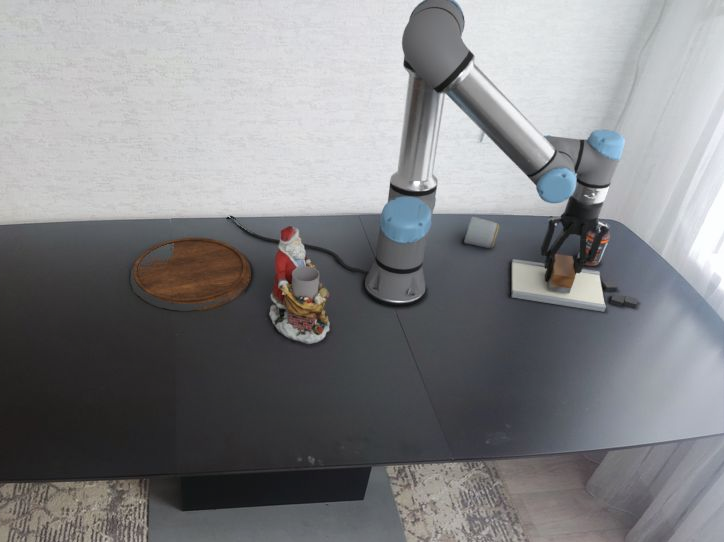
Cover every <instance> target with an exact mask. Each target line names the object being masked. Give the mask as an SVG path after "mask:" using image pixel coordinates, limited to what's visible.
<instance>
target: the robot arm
mask: <svg viewBox="0 0 724 542" xmlns="http://www.w3.org/2000/svg"><path fill="white" fill-rule="evenodd" d="M465 25H466V20H465V15H464V11H463V9H462V8H461V5H460V4H459V3H458V2H457V1H456V0H422V1H420V2H419V3H418V4H417V5H416V6H415V7H414V8H413V10H412V12H411V13H410V16H409V19H408V22H407V23H406V25H405V27H404V30H403V33H402V38H401V47H402V48H401V49H402V52H403V63H402V64H403V65H402V67H403V68H404V70H405V71H406V72H407V74H408V80H407V87H406V88H407V89H406V96H405V97H406V98H405V105H404V114H403V120H402V121H403V122H402V131H401V139H400V146H399V147H400V148H399V155H398V164H397V171H395V172H394V173H392V175H391V176H390V179H389V186H388V187H389V189H388V195H387V202H386V203H385V204H384V206H383V208H382V210H381V213H380V216H379V231H378V238H377V245H376V252H375V259H374V262H373V264H372V266H371V268H370V269H369V271H367V270H364V269H361V268H357V267H354V266H353V267H352V266H350V265H347V264H346V263H344V261H343V260H342V259H341V258H340V257H339V255H338V254H337V253H335V252H333V251H332V250H329V249H327V248H324V247H321V246H316V245H312V244H308V243H302V244H303V245H304V248H307V249H312V250H316V251H320V252H324V253H327V254H328V255H331V257H333V258H335V259H336V261H337V262H338V263H339V264H340V266H342V267H343V268H344V269H346V270H348V271H350V272H351V271H352V272H356V273H360V274H362V275H363V274H364V275H366V277H365V281H364V291H365V293H366V295H368V296H369V298H371V299H372V300H374V301H375V302H377V303H379V304H383V305H386V306H389V307H390V306H391V307H408V306H412V305H415V304H417V303H419V302H420V301H421V300H422V299H423V298H424V296H425V293H426V279H425V274H424V269H423V265H424V259H425V254H426V248H427V243H428V238H429V232H430V229H431V226H432V219H433V218H432V217H433V212H434V210H435V206H436V203H437V198H436V197H437V196H436V195H437V189H438V178H437V176H435V174H434V168H435V161H436V156H437V149H438V144H439V143H438V142H439V138H440V137H439V136H440V130H441V124H442V123H441V122H442V116H443V110H444V103H445V98H446V96H447V97H448V98H449V99H450V100H451V101H452V102H453V103H454V104H455V105H456V106H457V107H458V108H459V109H460V110H461V111H462V112H463V113H464V114H465V115H466V116H467V117H468V118H469V119H470V120H471V121H472V122H473V123H474V124H475V125H476V126H477V127H478V128H479V130H481V131H482V132H483V133H484V134H485V136H487V137H488V138H489V139H490V140H491V141H492V142H493V144H495V145H496V147H498V148H499V150H500V151H502V153H504V154H505V155H506V156H507V158H509V160H511V161H512V163H514V164H515V166H517V168H518V169H520V171H521V172H522V173H523V174H524V175H526V177H527V178H528V179H529V180H530V181H531V182H532V183H533V184H534V185H535V189H536V192H537V194H538V197H539V198H540V199H541V200H542V201H544V202H546V203H549V204H560V203H563V202H566V200H567V202H566V206H565V209H564V211H563V213H561V215H560V216H556V217H554V216H553V215H550V216H549V217H548V218H547V219H548V226H547V229H546V233H545V235H544V238H543V241H542V244H541V248H540V255H541V256H542V257H545V260H544V267H545V269H547V270H546V273H545V281H546V282H548V280H549V278H550V275H551V272H552V269H553V266H554V263H555V254H558V251H559V250H560V248H561V247H562V246H563V244H564V242H565V241H566V240H567V239H568V238H569V237H570V236H572V235H576V236H579V249H580V253H579V258H577V257H574V260H573V263H574V271H575V275H576V273H581V271H582V269H584V266H586V265H585V264H586V262H593V261H594V259H595V257H596V254H597V251H598V248H599V246H600V243H601V240H602V237H603V236H604V235H605V233H606V232H607V231H608V227H607V224H608V222H605V223H600V222H598V221H599V216H600V215H601V211H602V209H603V206H604V202H605V200H606V198H607V195H608V192H609V189H610V186H611V183H612V181H613V178H614V176H615V173H616V170H617V169H618V166H619V163H620V161H621V159H622V155H623V151H624V147H625V144H626V139H625V137H624V136H623V134H621V133H620V132H617V131H615V130H611V129H596V130H593V131H591V132H590V134H589V136H588V137H587V139H585V138H583V139H579V138H570V137H563V136H562V137H561V136H553V135H550V134H549V135H543V134H542V133H541V132H540V131H539V130H538V129H537V128H536V127H535V126H534V124H533V123H532V122H531V121H530V120H529V119H528V118H527V117H526V116H525V115H524V114H523V113H522V112H521V110H519V108H517V107H516V106H515V105H514V103H513V102H512V101H510V100H509V98H508V97H507V96H506V95H505V94H504V93H503V92H502V91H501V90H500V89H499V87H497V86H496V85H495V84H494V83H493V81H492V80H490V78H489V77H488V76H487V75H486V74H485V73H484V72H483V71H482V70H481V69H480V68H479V66H477V65H476V63H475V57H476V55H475V54H474V53H473V52H472V51H471V50H470V49H469V48H468V47H467V45H466V43H465V41H463V38H462V35H463V33H464V30H465ZM229 216H230V217H231V218H233V219H235V220H237V219H236V217H235V216H233V215H229ZM225 218H226V219H227V220H231V218H229V217H228V216H226V217H225ZM559 224H561V225H562V229H561V231H560V233H559V234H558V235H557V237H556V238H555V240H554V242H553V243H552V244H551V242H552V239H553V236H554V233H555V229H556V228H558V225H559ZM235 225H236V226H237V227H238V228H239V229H240V230H241V231H243V232H245V233H246V234H248V235H250V236H251V237H253V238H257V239H259V240H263V241H266V242H270V243H277V244H280V243H279V242H280V239H275V238H271V237H266V236H262V235H259V234H257V233H255V232H252V231H251V230H249V231H250V232H252V233H253V234H252V233H250V232H248V231H247V230H248V229H247V230H245V229H244V228H245V227H244V228H242V227H241V226H242V225H241V226H239V225H237V224H236V223H235ZM595 227H596V234H595V237H594V239H593V242H592V245H591V248H590V251H589V253H588V255H586V240H587V233H588V232H589V231H591V230H592V229H593V228H595ZM608 232H609V231H608ZM550 245H551V246H550Z"/></svg>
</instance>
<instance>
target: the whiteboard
mask: <svg viewBox="0 0 724 542" xmlns="http://www.w3.org/2000/svg"><path fill="white" fill-rule="evenodd" d="M544 263H545V262H544ZM544 263H543V262H538V261H537V262H536V261H531V260H524V259H517V258H512V259H511V263H510V264H511V265H510V266H511V273H510V274H511V278H510V279H511V281H510V282H511V291H510V294H511V295H510V297H511V298H513V299H520V300H526V301H532V302H540V303H546V304H550V305H551V304H553V305H559V306H565V307H571V308H578V309H584V310H589V311H596V312H603V313H604V312H605V311H606V308H607V304H605V300H604V298H605V297H604V293H603V287H602V286H601V284H602V282H601V273H600V271H599V270H591V269H585V268H582V271H581V273H576V275H575V279H574V282H573V285H572V288H571V290H570V293H563V292H556V291H549V290H548V282H546V281H545V273H546V270H547V269H545V267H544Z"/></svg>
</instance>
